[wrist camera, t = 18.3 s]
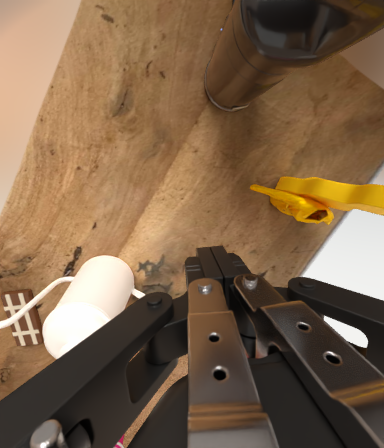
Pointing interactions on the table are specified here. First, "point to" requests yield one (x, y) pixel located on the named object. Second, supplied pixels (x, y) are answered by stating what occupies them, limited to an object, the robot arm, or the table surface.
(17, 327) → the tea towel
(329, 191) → the figure statuette
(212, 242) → the table surface
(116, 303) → the coffeepot
